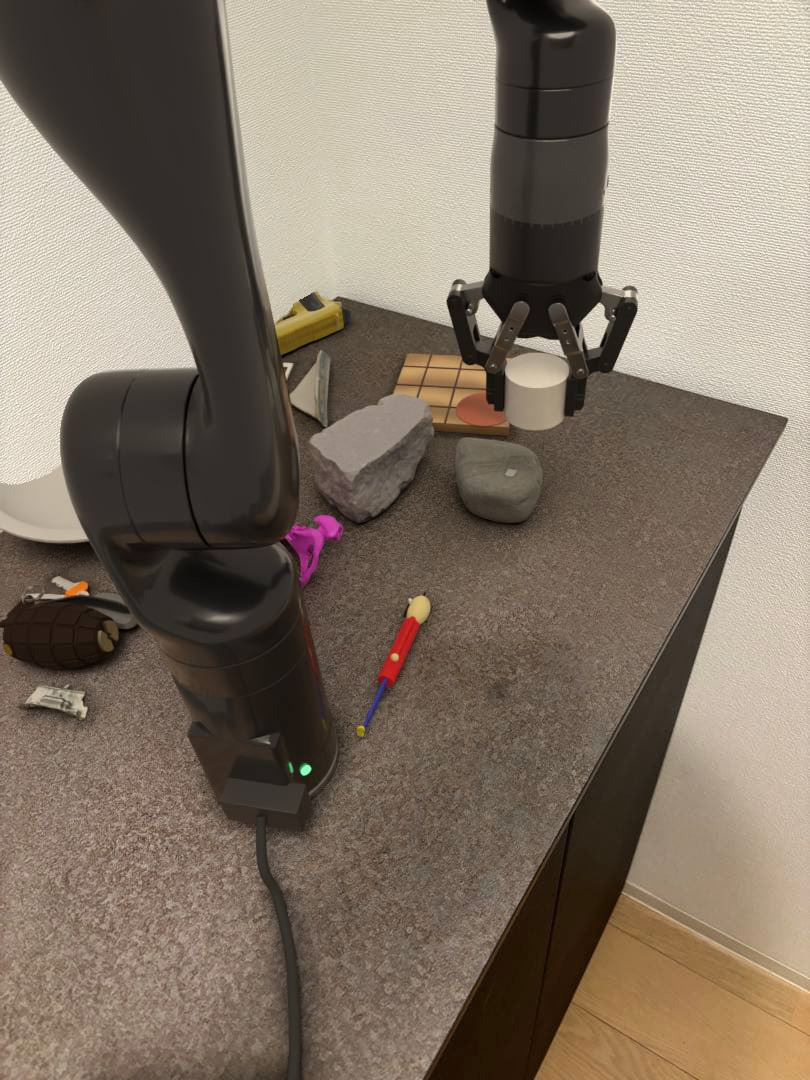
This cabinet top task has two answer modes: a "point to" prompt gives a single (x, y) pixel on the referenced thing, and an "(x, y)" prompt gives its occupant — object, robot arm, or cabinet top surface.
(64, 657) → the hand grenade
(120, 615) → the key chain
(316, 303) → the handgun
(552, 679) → the cabinet top surface
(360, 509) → the decorative stone
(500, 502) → the stone
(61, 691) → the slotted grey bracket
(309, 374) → the ceramic fragment
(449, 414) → the board
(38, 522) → the soup bowl
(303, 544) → the pelvis
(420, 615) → the red screwdriver
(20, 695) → the cabinet top surface
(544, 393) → the cream short cylinder
